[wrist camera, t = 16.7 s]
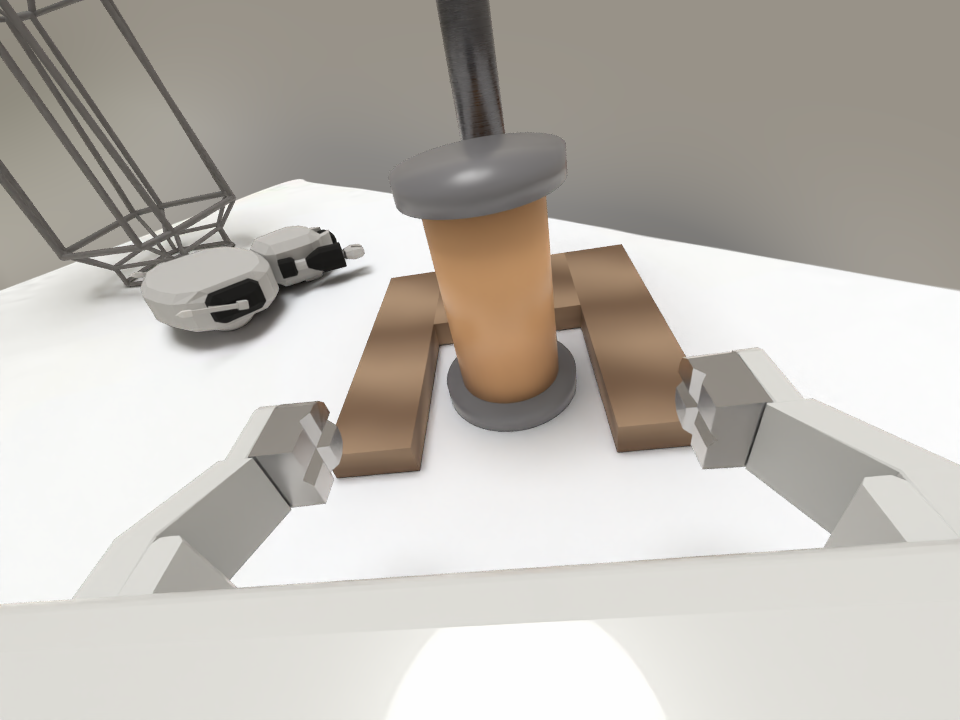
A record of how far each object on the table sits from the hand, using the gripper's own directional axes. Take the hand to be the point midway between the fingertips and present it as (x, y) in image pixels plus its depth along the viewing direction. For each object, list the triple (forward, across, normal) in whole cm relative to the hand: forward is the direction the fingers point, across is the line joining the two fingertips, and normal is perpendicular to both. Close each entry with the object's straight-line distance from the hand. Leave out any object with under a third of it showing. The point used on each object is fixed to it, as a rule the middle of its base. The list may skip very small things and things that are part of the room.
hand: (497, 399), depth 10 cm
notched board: (+12, 0, -8) cm, 15 cm away
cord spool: (+10, 0, -8) cm, 12 cm away
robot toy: (+24, -20, -8) cm, 32 cm away
